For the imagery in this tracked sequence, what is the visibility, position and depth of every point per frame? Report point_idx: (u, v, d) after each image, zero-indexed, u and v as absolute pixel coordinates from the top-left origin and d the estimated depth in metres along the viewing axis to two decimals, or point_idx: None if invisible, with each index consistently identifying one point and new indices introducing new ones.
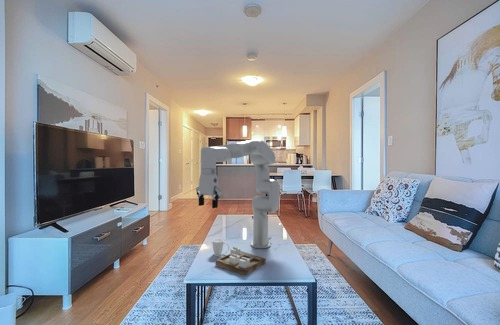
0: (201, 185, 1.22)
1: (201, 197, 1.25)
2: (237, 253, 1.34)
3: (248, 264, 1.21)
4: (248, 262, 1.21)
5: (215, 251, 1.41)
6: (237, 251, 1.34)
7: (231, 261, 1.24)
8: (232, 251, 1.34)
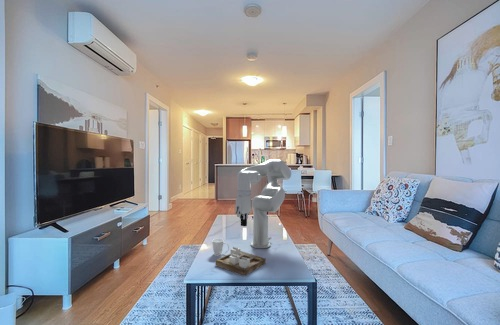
0: (244, 206, 1.38)
1: None
2: (237, 253, 1.34)
3: (248, 264, 1.21)
4: (248, 262, 1.21)
5: (215, 251, 1.41)
6: (237, 251, 1.34)
7: (231, 261, 1.24)
8: (232, 251, 1.34)
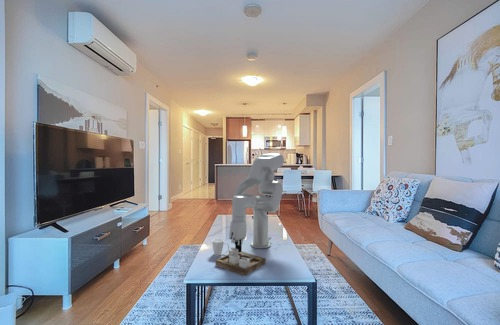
0: (239, 232, 1.34)
1: None
2: (235, 254, 1.33)
3: (248, 264, 1.21)
4: (248, 262, 1.21)
5: (215, 251, 1.41)
6: (235, 252, 1.33)
7: (231, 261, 1.24)
8: (230, 252, 1.33)
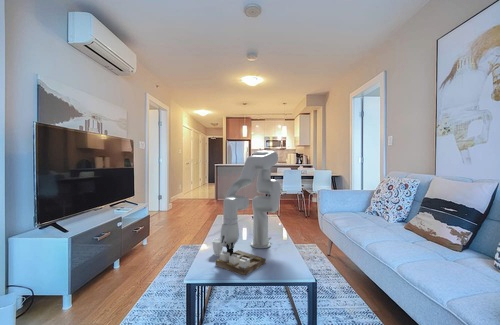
0: (230, 235, 1.29)
1: None
2: (227, 258, 1.28)
3: (248, 264, 1.21)
4: (248, 262, 1.21)
5: (215, 251, 1.41)
6: (227, 256, 1.28)
7: (231, 261, 1.24)
8: (221, 256, 1.28)
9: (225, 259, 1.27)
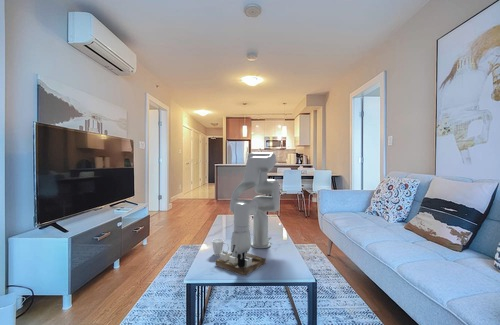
0: (242, 244, 1.16)
1: None
2: (227, 258, 1.28)
3: (250, 263, 1.22)
4: (250, 261, 1.22)
5: (215, 251, 1.41)
6: (227, 255, 1.28)
7: (231, 261, 1.24)
8: (221, 255, 1.28)
9: (225, 259, 1.27)
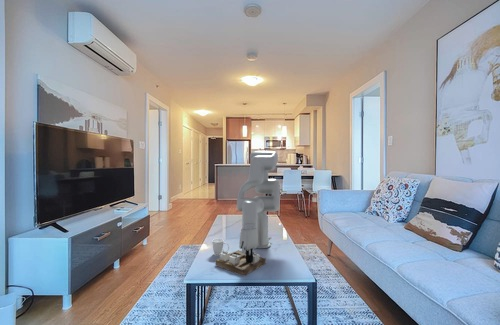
0: (250, 240, 1.21)
1: None
2: (227, 258, 1.28)
3: (258, 259, 1.27)
4: (258, 257, 1.27)
5: (215, 251, 1.41)
6: (227, 255, 1.28)
7: (231, 261, 1.24)
8: (221, 255, 1.28)
9: (225, 259, 1.27)
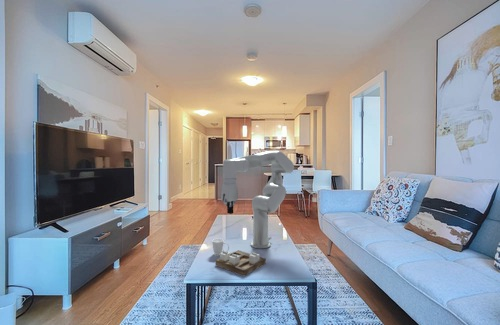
0: (230, 193, 1.38)
1: None
2: (227, 258, 1.28)
3: (258, 259, 1.27)
4: (258, 257, 1.27)
5: (215, 251, 1.41)
6: (227, 255, 1.28)
7: (231, 261, 1.24)
8: (221, 255, 1.28)
9: (225, 259, 1.27)
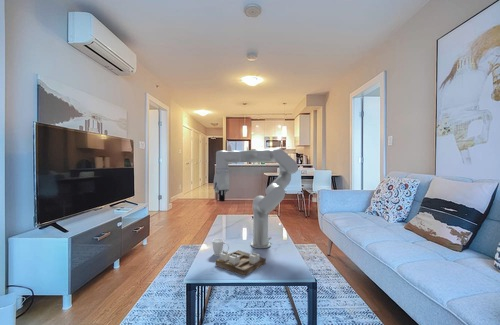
0: (222, 182, 1.48)
1: None
2: (227, 258, 1.28)
3: (258, 259, 1.27)
4: (258, 257, 1.27)
5: (215, 251, 1.41)
6: (227, 255, 1.28)
7: (231, 261, 1.24)
8: (221, 255, 1.28)
9: (225, 259, 1.27)
